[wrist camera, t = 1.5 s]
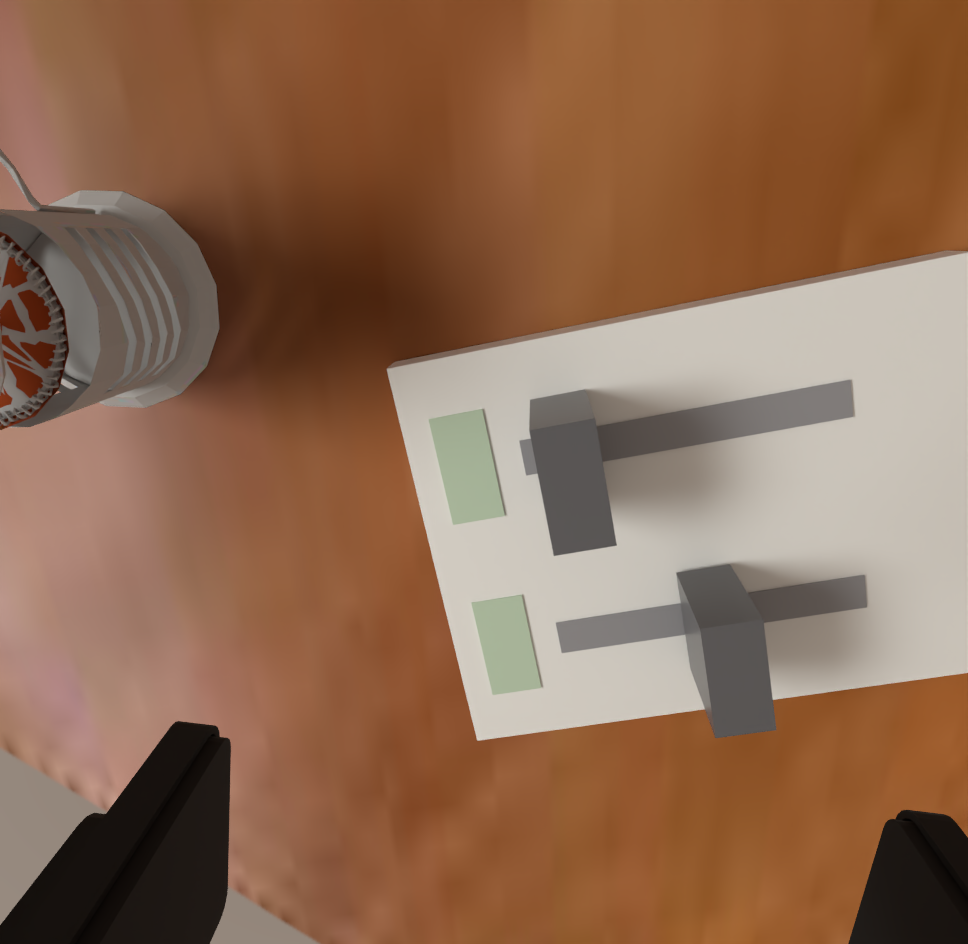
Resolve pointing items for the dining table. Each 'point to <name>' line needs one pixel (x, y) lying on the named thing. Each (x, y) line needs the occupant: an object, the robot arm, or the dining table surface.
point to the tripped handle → (726, 651)
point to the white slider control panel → (701, 492)
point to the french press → (98, 305)
